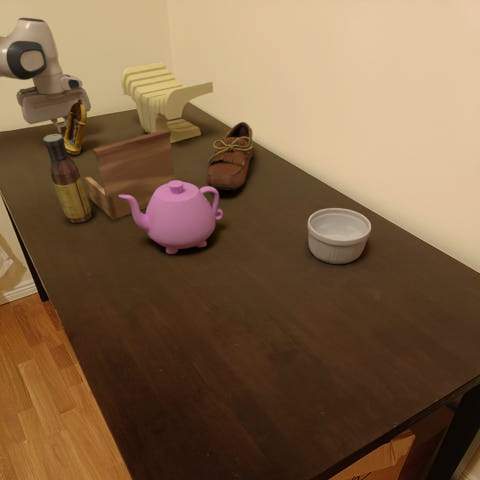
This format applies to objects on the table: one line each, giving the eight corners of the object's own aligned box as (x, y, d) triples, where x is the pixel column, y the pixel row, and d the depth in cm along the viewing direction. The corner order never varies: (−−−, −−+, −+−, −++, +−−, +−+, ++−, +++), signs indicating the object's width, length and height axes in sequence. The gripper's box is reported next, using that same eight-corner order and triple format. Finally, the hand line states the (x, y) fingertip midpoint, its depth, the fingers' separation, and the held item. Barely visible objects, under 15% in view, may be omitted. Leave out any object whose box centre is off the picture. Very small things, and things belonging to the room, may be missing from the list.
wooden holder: (90, 199, 112) (71, 133, 100) (153, 179, 120) (143, 115, 108) (112, 220, 104) (96, 151, 93) (178, 197, 113) (170, 131, 101)
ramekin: (294, 240, 97) (297, 213, 93) (345, 229, 101) (350, 202, 96) (322, 274, 89) (327, 246, 84) (377, 260, 92) (384, 232, 87)
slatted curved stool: (129, 126, 150) (119, 69, 137) (169, 116, 156) (162, 61, 144) (172, 154, 132) (165, 92, 120) (215, 142, 139) (212, 81, 126)
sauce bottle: (82, 209, 108) (59, 128, 95) (98, 217, 106) (76, 135, 92) (60, 219, 105) (32, 137, 91) (75, 228, 102) (49, 144, 88)
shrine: (94, 144, 138) (82, 94, 128) (96, 154, 133) (84, 102, 122) (57, 149, 136) (41, 98, 125) (58, 159, 130) (42, 107, 120)
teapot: (137, 270, 90) (125, 211, 80) (123, 232, 100) (111, 177, 91) (235, 247, 96) (234, 190, 86) (212, 214, 106) (209, 160, 97)
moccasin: (231, 204, 109) (230, 158, 101) (188, 196, 113) (183, 150, 104) (271, 157, 130) (272, 115, 122) (233, 151, 134) (232, 110, 125)
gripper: (17, 93, 120) (34, 142, 129) (86, 79, 129) (97, 127, 138) (10, 87, 124) (27, 136, 133) (78, 75, 132) (89, 121, 142)
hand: (63, 131), depth 136 cm, fingers closed
